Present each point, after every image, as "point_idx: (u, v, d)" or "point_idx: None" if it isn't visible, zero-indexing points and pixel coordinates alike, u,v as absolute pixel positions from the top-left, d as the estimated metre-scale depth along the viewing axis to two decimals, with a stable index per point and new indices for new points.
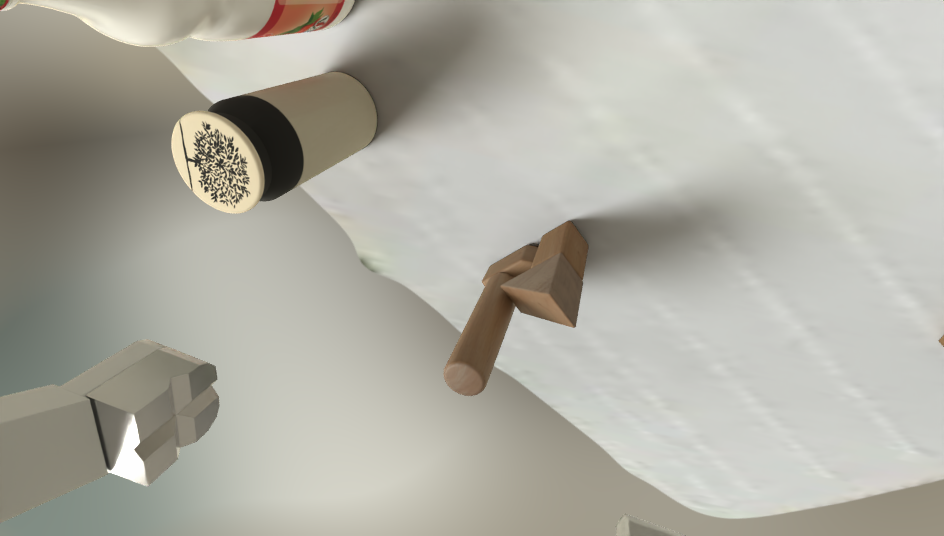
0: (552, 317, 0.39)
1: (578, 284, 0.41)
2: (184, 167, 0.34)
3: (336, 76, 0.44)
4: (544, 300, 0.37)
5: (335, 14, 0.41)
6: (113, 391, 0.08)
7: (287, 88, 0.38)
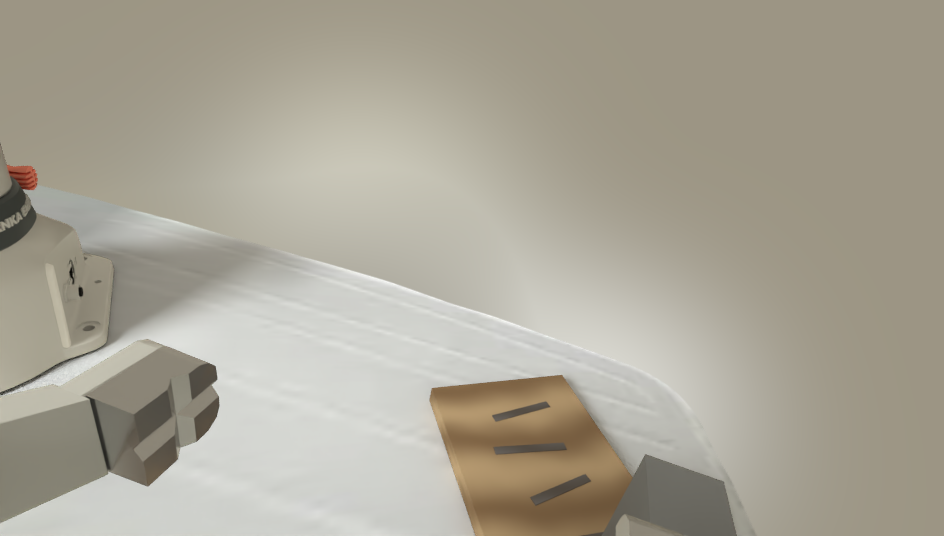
0: None
1: None
2: None
3: None
4: None
5: None
6: (113, 391, 0.08)
7: None
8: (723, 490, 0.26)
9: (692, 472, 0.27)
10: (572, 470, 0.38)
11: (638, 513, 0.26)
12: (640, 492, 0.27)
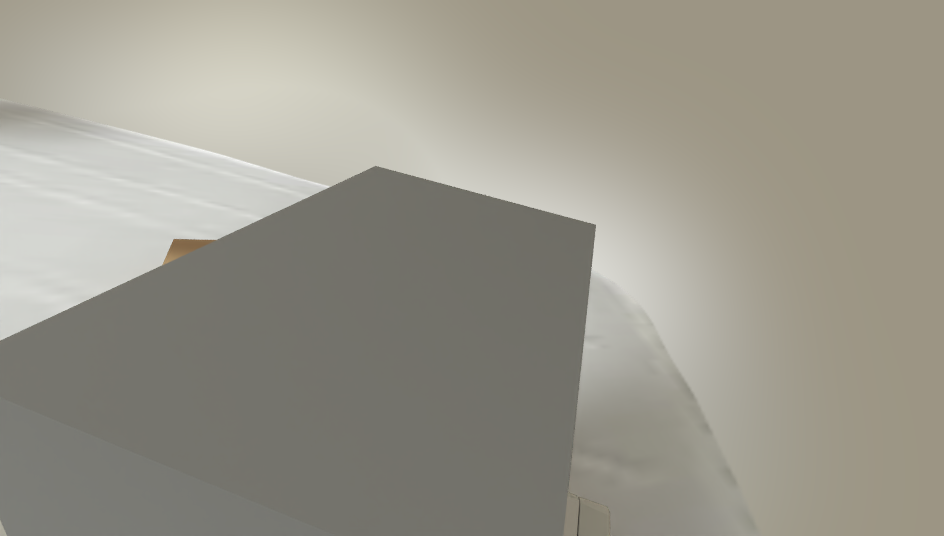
0: None
1: None
2: None
3: None
4: None
5: None
6: None
7: None
8: (586, 234, 0.08)
9: (503, 201, 0.09)
10: None
11: None
12: None
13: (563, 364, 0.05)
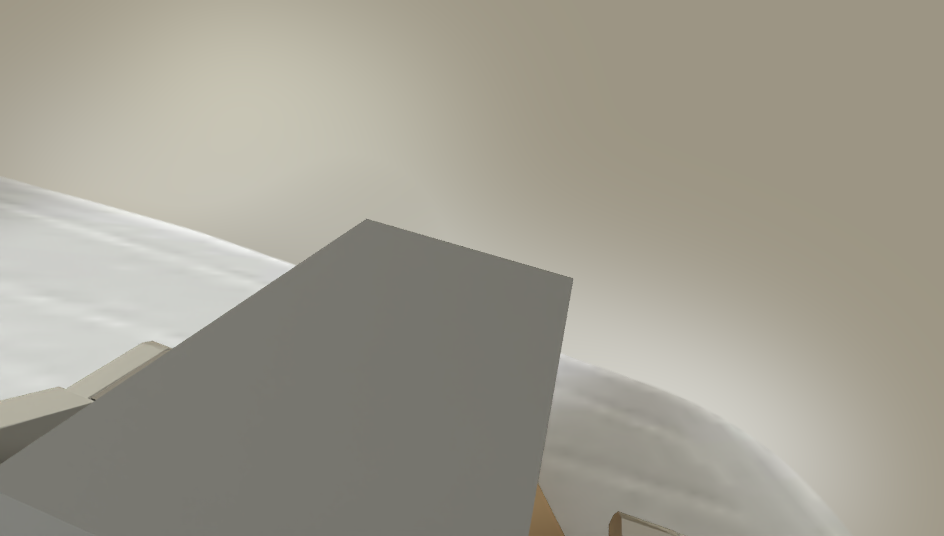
0: None
1: None
2: None
3: None
4: None
5: None
6: None
7: None
8: (563, 291, 0.09)
9: (487, 255, 0.09)
10: None
11: None
12: None
13: (529, 445, 0.05)
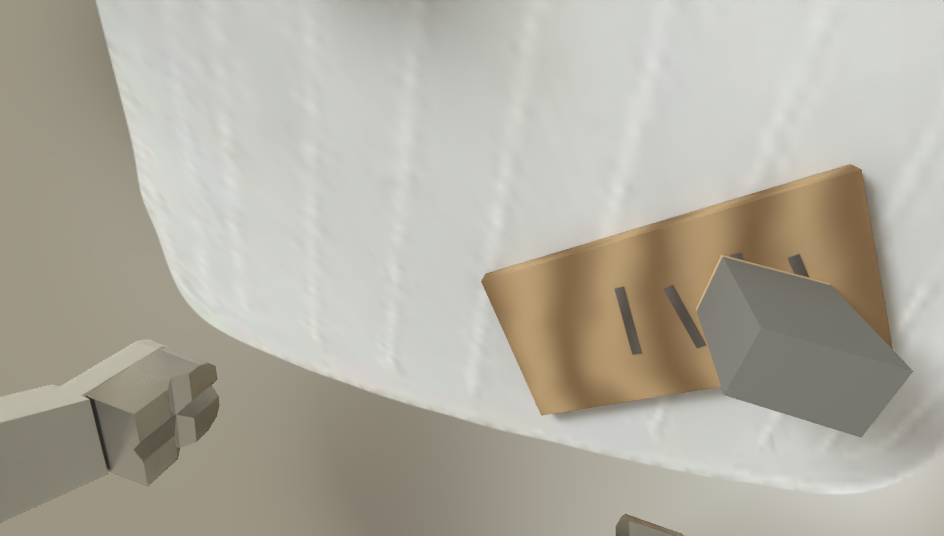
0: None
1: None
2: None
3: None
4: None
5: None
6: (113, 391, 0.08)
7: None
8: (849, 431, 0.25)
9: (878, 412, 0.24)
10: None
11: (834, 336, 0.24)
12: (860, 347, 0.24)
13: (771, 406, 0.25)
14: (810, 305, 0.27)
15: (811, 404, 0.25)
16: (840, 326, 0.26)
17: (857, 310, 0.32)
